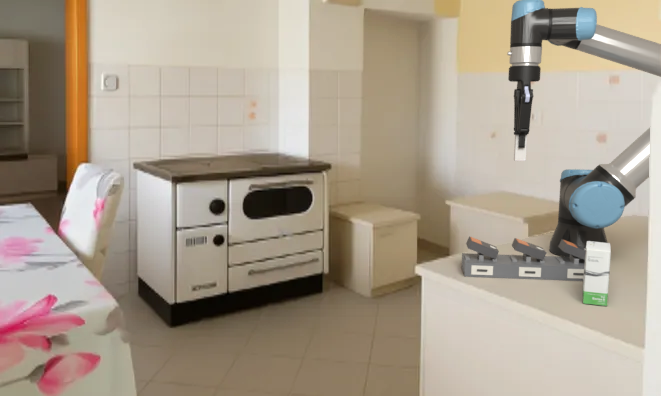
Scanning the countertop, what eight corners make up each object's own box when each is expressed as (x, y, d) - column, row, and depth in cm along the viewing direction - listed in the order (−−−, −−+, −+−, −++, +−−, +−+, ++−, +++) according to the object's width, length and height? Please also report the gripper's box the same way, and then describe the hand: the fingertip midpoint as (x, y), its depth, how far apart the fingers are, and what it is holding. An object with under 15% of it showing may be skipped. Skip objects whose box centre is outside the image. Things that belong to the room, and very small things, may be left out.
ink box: (607, 307, 129) (612, 251, 127) (581, 304, 130) (585, 248, 129) (606, 294, 136) (610, 241, 135) (582, 292, 138) (585, 239, 136)
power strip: (585, 270, 155) (586, 252, 154) (596, 281, 146) (597, 262, 145) (461, 266, 159) (462, 248, 158) (464, 276, 150) (465, 257, 149)
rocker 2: (539, 255, 154) (542, 247, 153) (543, 260, 149) (546, 252, 149) (511, 245, 154) (514, 237, 154) (514, 250, 149) (518, 242, 149)
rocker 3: (585, 257, 152) (589, 249, 152) (591, 262, 148) (595, 254, 147) (558, 246, 153) (561, 238, 152) (563, 251, 148) (566, 243, 148)
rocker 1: (492, 253, 155) (496, 246, 155) (495, 259, 150) (499, 251, 150) (466, 243, 156) (469, 235, 155) (467, 248, 151) (471, 240, 150)
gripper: (505, 66, 162) (500, 157, 166) (513, 64, 149) (508, 163, 153) (535, 66, 161) (530, 158, 165) (546, 64, 148) (540, 163, 152)
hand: (519, 160), depth 159 cm, fingers closed
